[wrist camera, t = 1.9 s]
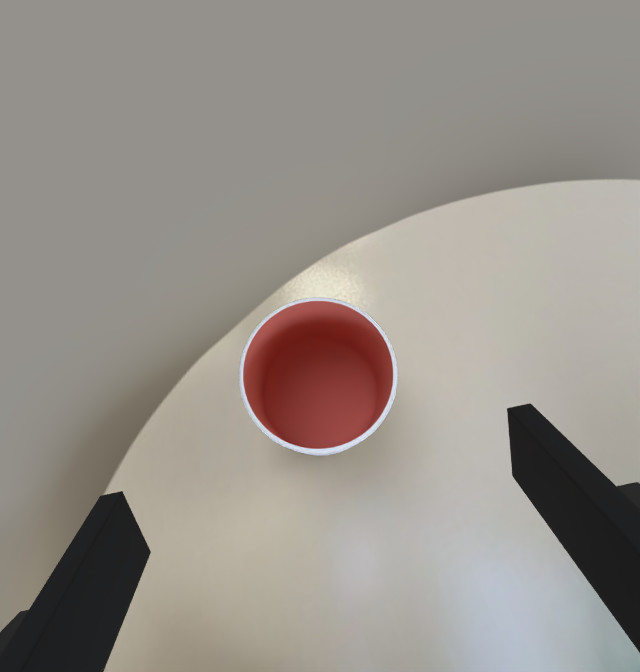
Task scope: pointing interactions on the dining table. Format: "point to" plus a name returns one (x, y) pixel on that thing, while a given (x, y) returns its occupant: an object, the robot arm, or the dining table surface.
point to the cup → (318, 376)
